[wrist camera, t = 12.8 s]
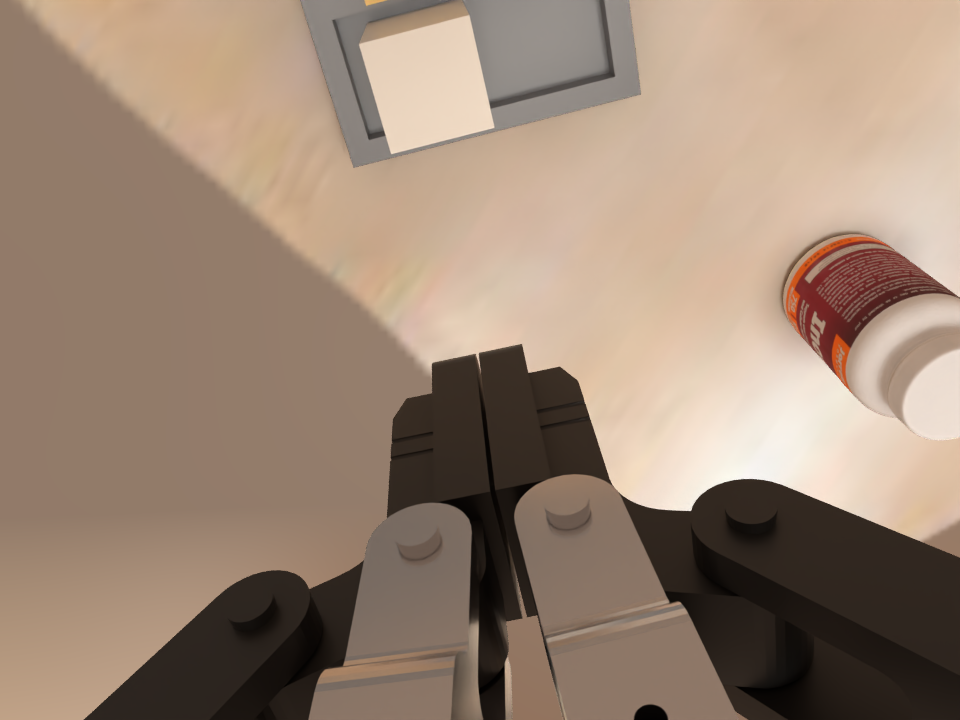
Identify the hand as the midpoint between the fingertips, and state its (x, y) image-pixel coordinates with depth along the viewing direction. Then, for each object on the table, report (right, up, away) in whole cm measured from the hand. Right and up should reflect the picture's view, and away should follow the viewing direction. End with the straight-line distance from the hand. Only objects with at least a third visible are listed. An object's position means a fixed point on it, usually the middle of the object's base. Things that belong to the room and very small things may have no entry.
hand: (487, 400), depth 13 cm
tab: (-2, +14, +21) cm, 25 cm away
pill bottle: (+19, +5, +30) cm, 35 cm away
